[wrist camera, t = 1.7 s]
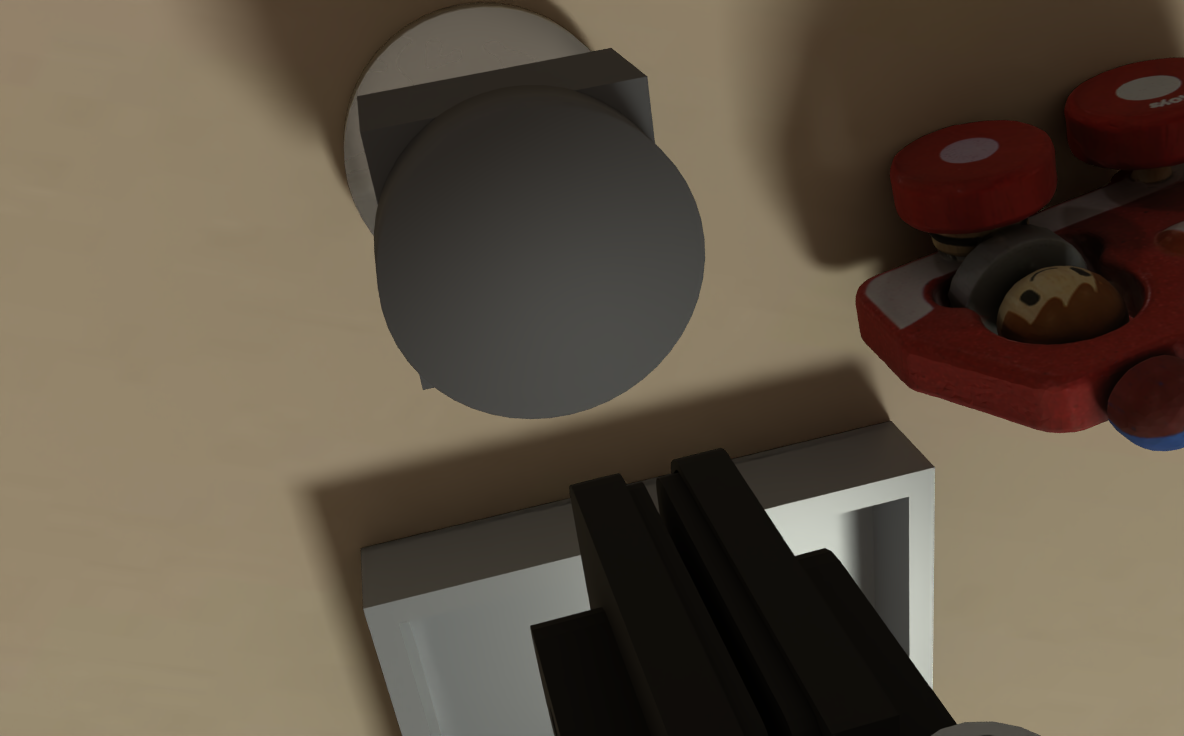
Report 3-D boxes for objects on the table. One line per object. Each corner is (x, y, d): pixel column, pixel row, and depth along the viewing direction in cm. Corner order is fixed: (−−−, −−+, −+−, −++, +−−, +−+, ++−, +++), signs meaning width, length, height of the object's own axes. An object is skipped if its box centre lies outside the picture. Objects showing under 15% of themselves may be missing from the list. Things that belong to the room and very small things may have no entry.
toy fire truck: (801, 176, 30) (1009, 331, 21) (1214, 24, 30) (1594, 109, 21) (845, 385, 33) (1041, 598, 24) (1216, 244, 34) (1545, 400, 24)
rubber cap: (623, 31, 23) (688, 76, 19) (655, 290, 26) (718, 380, 21) (338, 84, 22) (339, 144, 18) (403, 344, 25) (417, 449, 21)
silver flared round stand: (601, -22, 26) (653, 7, 22) (636, 248, 29) (687, 317, 25) (311, 31, 25) (306, 72, 21) (380, 302, 29) (388, 384, 24)
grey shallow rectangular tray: (891, 421, 34) (934, 467, 31) (894, 704, 39) (931, 762, 37) (360, 548, 32) (363, 608, 29) (444, 828, 37) (452, 898, 35)
